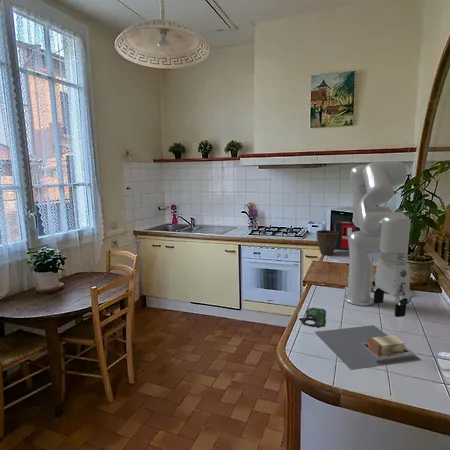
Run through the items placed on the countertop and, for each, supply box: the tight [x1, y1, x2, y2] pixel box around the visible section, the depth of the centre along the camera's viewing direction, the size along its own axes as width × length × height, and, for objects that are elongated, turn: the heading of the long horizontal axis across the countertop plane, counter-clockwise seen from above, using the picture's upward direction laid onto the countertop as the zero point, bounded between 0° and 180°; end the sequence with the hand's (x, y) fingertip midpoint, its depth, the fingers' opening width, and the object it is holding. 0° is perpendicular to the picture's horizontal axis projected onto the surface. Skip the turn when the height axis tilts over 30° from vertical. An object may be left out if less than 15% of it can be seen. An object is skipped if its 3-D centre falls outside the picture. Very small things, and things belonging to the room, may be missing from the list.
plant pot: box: [316, 229, 339, 257], centre depth 224 cm, size 15×15×16 cm
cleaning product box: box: [334, 220, 360, 251], centre depth 239 cm, size 16×9×20 cm, turn 73°
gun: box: [298, 307, 327, 328], centre depth 127 cm, size 16×1×10 cm
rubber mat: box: [314, 324, 422, 371], centre depth 107 cm, size 23×24×1 cm
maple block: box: [368, 334, 405, 356], centre depth 102 cm, size 9×5×4 cm, turn 101°
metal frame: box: [359, 342, 415, 363], centre depth 102 cm, size 9×13×2 cm
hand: (388, 309), depth 100 cm, fingers open, 9 cm apart
